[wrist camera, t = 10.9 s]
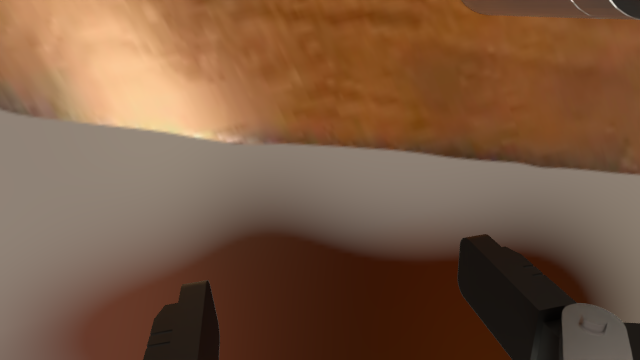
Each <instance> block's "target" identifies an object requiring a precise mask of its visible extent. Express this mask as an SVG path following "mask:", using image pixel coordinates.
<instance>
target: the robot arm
mask: <svg viewBox="0 0 640 360" xmlns="http://www.w3.org/2000/svg"><path fill="white" fill-rule="evenodd" d="M462 2H463V3H464V4H465V5H466V6H467V7H469V8H470V9H471V10H473V11H475V12H477V13H480V14H486V15H506V16H531V17H564V18H597V19H636V20H640V0H462ZM458 285H459V288H460V291H461V293H462V295H463V297H464V298H465V299H466V301H467V302H468V303H469V305H470V306H471V307H472V308H473V310H474V311H475V312H476V314H477V315H478V316H479V317H480V319H481V320H482V321H483V323H484V324H485V325H486V326H487V328H488V329H489V330H490V332H491V333H492V334H493V335H494V337H495V338H496V339H497V341H498V342H499V343H500V344H501V346H502V347H503V348H504V350H505V351H506V352H507V353H508V355H509V356H510V357H511V359H512V360H640V324H638V323H623V322H622V321H621V320H620V319H619V318H618V317H617V316H616V315H614V314H613V313H611V312H609V311H607V310H605V309H603V308H601V307H598V306H595V305H591V304H583V303H576V302H575V301H574V300H573V299H572V298H571V297H569V296H568V295H567V294H566V293H565V292H564V291H563V290H561V289H560V288H559V287H558V286H557V285H556V284H555V283H553V282H552V281H551V280H550V279H549V278H548V277H547V276H545V275H543V274H542V272H541V271H540V270H538V269H537V268H536V267H533V264H532V263H531V262H529V261H528V260H527V259H526V258H525V257H524V256H522V255H521V254H519V253H517V252H515V251H513V250H511V249H509V248H507V247H501V246H500V245H499V244H497V243H496V242H495V241H494V240H493V239H492V238H491V237H490V236H488V235H486V234H484V235H478V236H472V237H466V238H463V239H462V240H461V242H460V253H459V266H458ZM150 334H151V336H150V337H149V341H148V344H147V349H146V352H145V355H144V359H143V360H219V346H220V334H219V325H218V319H217V314H216V310H215V305H214V301H213V296H212V292H211V288H210V283H209V281H208V280H207V281H201V282H195V283H189V284H183V285H182V287H181V291H180V296H179V301H178V303H175V304H169V305H165V306H164V307H163V309H162V310H161V311H160V312H159V314H158V315H157V316H156V318H155V319H154V322H153V326H152V329H151V333H150Z"/></svg>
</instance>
